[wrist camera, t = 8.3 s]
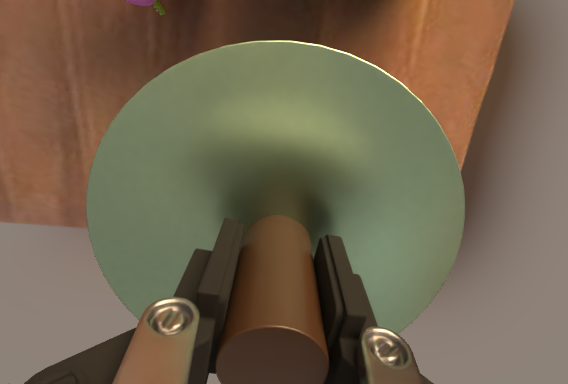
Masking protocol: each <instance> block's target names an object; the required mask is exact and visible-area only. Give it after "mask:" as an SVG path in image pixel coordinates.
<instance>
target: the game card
mask: <svg viewBox="0 0 568 384" xmlns="http://www.w3.org/2000/svg"><path fill="white" fill-rule="evenodd" d="M126 1H128V2H130V3H132V4H134V5H138V6H149V5H151V4H153V5H154V8H155V7H156V8H157V9H156V12H157V11H159V12H160V14H161V15H164V14H165V10H164V9H163V7H162V6H161V4H160V2H159V1H158V0H126Z"/></svg>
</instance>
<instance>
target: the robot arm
mask: <svg viewBox="0 0 568 384" xmlns="http://www.w3.org/2000/svg"><path fill="white" fill-rule="evenodd" d="M243 231H244V224H239V220H238V219H233V218H227V217H225V218H224V220H223V223H222V226H221V229H220V231H219V234H218V237H217V240H216V242H215V245H214V248H213V251H210V250H204V249H197V248H196V249H195V251H194V252H193V255H192V257H191V259H190V261H189V263H188V265H187V268H186V270H185V272H184V274H183V276H182V278H181V281H180V283H179V285H178V287H177V289H176V291H175V294H174V296H173V297H167V298H163V299H160V300H158V301H156V302H153V303H152V304H151V305H150V306H148V307H147V308H146V309H145V311H144V312H143V314H142V316H141V318H140V321H139V323H138V325H137V327H136V328H134V329H132V330H129V331H127V332H125V333H123V334H121V335H118V336H116V337H114V338H112V339H109V340H107V341H105V342H103V343H101V344H98V345H96V346H94V347H92V348H90V349H87V350H85V351H83V352H81V353H78V354H76V355H74V356H72V357H70V358H67V359H65V360H63V361H61V362H59V363H56V364H54V365H52V366H50V367H47V368H45V369H44V370H42V371H40V372H38V373H37V374H35V375H34V376H32V377H31V378H30V379H29V380H28V381H27V382H25V383H24V384H206V383H207V379H208V375H209V373H214V374H216V371H215V358H216V354H217V349H218V345H219V341H220V337H221V334H222V330H223V326H224V321H225V317H226V312H227V308H228V303H229V299H230V294H231V290H232V285H233V281H234V276H235V272H236V267H237V263H238V258H239V254H240V249H241V243H242V237H243ZM314 266H315V272H316V279H317V285H318V292H319V298H320V305H321V311H322V318H323V325H324V331H325V338H326V344H327V351H328V357H329V372H328V375H327V378H326V380H325V382H324V383H323V384H433V383H432V382H431V381H429V380H428V379H427V378H426V377H424V376H423V375H422V374H420V372H419V369H418V366H417V363H416V361H415V358H414V355H413V352H412V350H411V348H410V346H409V345H408V344H407V343H406V341H405V340H404V339H403V338H402V337H400V336H399V335H398V334H397V333H395V332H393V331H391V330H389V329H386V328H383V327H378V324H377V321H376V319H375V316H374V313H373V310H372V307H371V305H370V302H369V299H368V296H367V293H366V290H365V288H364V285H363V282H362V279H361V277H360V275H358V274H354V273H353V271H352V268H351V265H350V262H349V259H348V256H347V253H346V250H345V246H344V243H343V240H342V238H341V237H339V236H333V235H327V234H326V235H325V238H323V237H320V239H319V242H318V245H317V249H316V253H315V256H314Z"/></svg>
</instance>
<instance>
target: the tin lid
mask: <svg viewBox="0 0 568 384" xmlns="http://www.w3.org/2000/svg"><path fill="white" fill-rule="evenodd" d="M86 215H87V222H88V230H89V236H90V240H91V243H92V247H93V250H94V253H95V257H96V259H97V261H98V263H99V266H100V268H101V270H102V272H103V275H104V276H105V278H106V280H107V281H108V283H109V285H110V286H111V288H112V289H113V291H114V293H115V294H116V295H117V296H118V298H119V299H120V300H121V301H122V302H123V304H124V305H125V306H126V308H127V309H128V310H129V311H130V312H131V313H132V314H133V315H134V316H135V317H136V318H137V319H138V320H139V321H140V318H141V316H142V314H143V312H144V311H145V309H146V308H147V307H148V306H150V305H151V304H152V303H153V302H156V301H158V300H160V299H163V298H167V297H173V296H174V294H175V291H176V289H177V287H178V285H179V283H180V281H181V278H182V276H183V274H184V272H185V270H186V268H187V265H188V263H189V261H190V259H191V257H192V255H193V252H194V251H195V249H196V248H197V249H204V250H210V251H213V248H214V245H215V242H216V240H217V237H218V234H219V231H220V229H221V226H222V223H223V220H224V218H225V217H227V218H233V219H238V220H239V224H244V231H243V237H242V243H241V249H240V254H239V258H238V263H237V267H236V272H235V276H234V281H233V285H232V290H231V294H230V299H229V303H228V308H227V312H226V317H225V321H224V326H223V330H222V334H221V337H220V341H219V345H218V349H217V354H216V358H215V371H216V374H217V377H218V379H219V381H220V383H221V384H323V383H324V382H325V380H326V378H327V375H328V372H329V357H328V351H327V344H326V338H325V331H324V325H323V318H322V311H321V305H320V298H319V292H318V285H317V279H316V272H315V266H314V256H315V253H316V249H317V245H318V242H319V239H320V237H323V238H325V235H326V234H327V235H333V236H339V237H341V238H342V240H343V243H344V246H345V250H346V253H347V256H348V259H349V262H350V265H351V268H352V271H353V273H354V274H358V275H360V277H361V279H362V282H363V285H364V288H365V290H366V293H367V296H368V299H369V302H370V305H371V307H372V310H373V313H374V316H375V319H376V321H377V324H378V327H383V328H386V329H389V330H391V331H393V332H395V333H397V334H398V333H400V332H401V331H402V330H404V329H405V328H406V327H407V326H408V325H410V324H411V323H412V322H413V321H414V320H415V319H416V318H417V317H418V316H419V315H420V314H421V313H422V312H423V311H424V310H425V309H426V308H427V307H428V306H429V304H430V303H431V302H432V300H433V299H434V298H435V296H436V295H437V294H438V292H439V291H440V289H441V287H442V286H443V284H444V282H445V281H446V279H447V277H448V275H449V274H450V271H451V269H452V267H453V264H454V262H455V259H456V257H457V254H458V251H459V247H460V242H461V239H462V235H463V228H464V218H465V199H464V187H463V182H462V178H461V172H460V168H459V164H458V162H457V159H456V156H455V154H454V151H453V148H452V146H451V143H450V142H449V140H448V138H447V136H446V135H445V133H444V131H443V129H442V128H441V126H440V124H439V122H438V121H437V120H436V118H435V117H434V116H433V115H432V113H431V112H430V111H429V110H428V108H427V107H426V106H425V105H424V103H423V102H422V101H421V100H420V99H419V98H418V97H417V96H416V95H414V94H413V93H412V92H411V91H410V90H409V89H408V88H407V87H406V86H405V85H403V84H402V83H401V82H400V81H398V80H397V79H395V78H394V77H392V76H391V75H389V74H388V73H386V72H385V71H383V70H382V69H380V68H379V67H377V66H375V65H373V64H371V63H369V62H367V61H365V60H363V59H360V58H358V57H356V56H354V55H352V54H350V53H346V52H343V51H340V50H336V49H333V48H329V47H326V46H323V45H319V44H312V43H305V42H298V41H291V40H257V41H250V42H244V43H237V44H230V45H225V46H222V47H219V48H215V49H212V50H209V51H206V52H202V53H199V54H196V55H194V56H192V57H190V58H188V59H186V60H184V61H182V62H180V63H178V64H176V65H174V66H171V67H170V68H168V69H167V70H165V71H164V72H162V73H161V74H159V75H158V76H157V77H155V78H154V79H152V80H151V81H149V82H148V83H146V84H145V85H144V86H143V87H142V88H141V89H140V90H139V91H138V92H137V93H136V94H135V95H134V96H133V97H132V98H131V99H130V100H128V101H127V102H126V104H125V105H124V106H123V108H122V109H121V110H120V112H119V113H118V114H117V115H116V117H115V118H114V119H113V121H112V122H111V123H110V125H109V127H108V129H107V131H106V133H105V135H104V136H103V138H102V140H101V142H100V144H99V146H98V149H97V152H96V155H95V158H94V160H93V163H92V166H91V170H90V176H89V181H88V187H87V206H86Z"/></svg>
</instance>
